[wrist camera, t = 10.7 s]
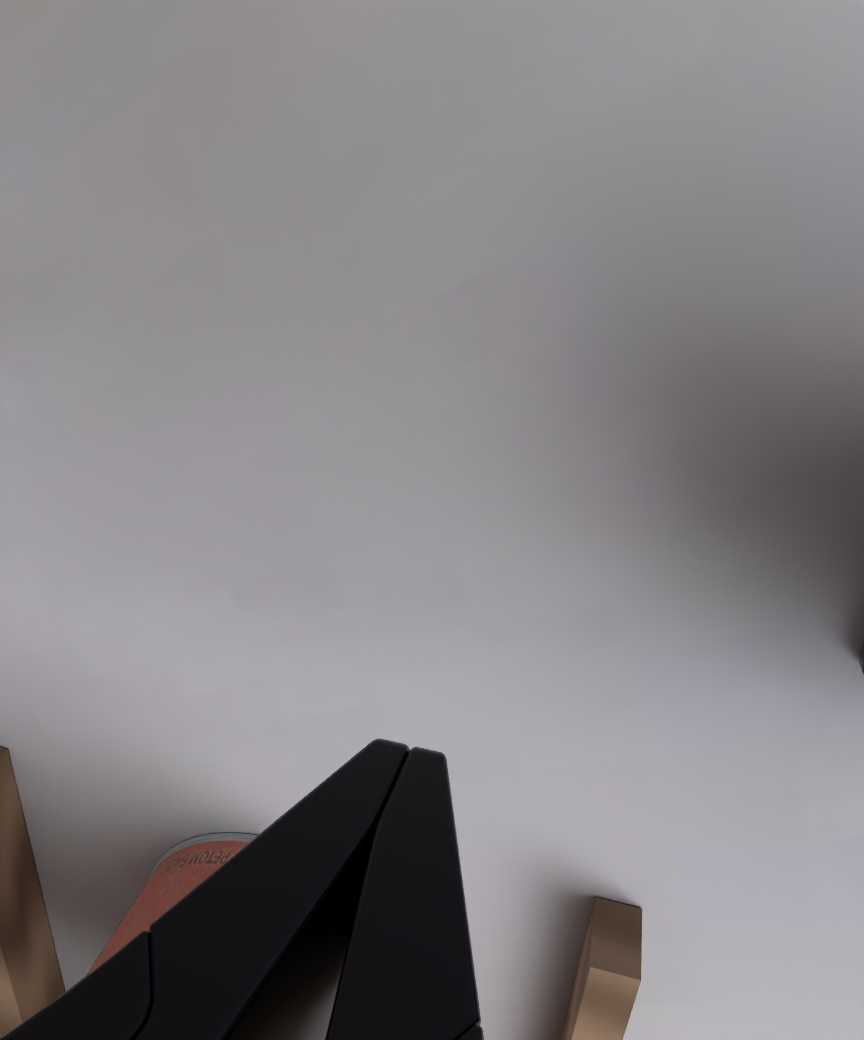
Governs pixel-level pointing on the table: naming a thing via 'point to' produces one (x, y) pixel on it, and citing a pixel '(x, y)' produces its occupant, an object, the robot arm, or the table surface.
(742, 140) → the table surface
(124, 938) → the canned food
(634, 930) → the display stand
